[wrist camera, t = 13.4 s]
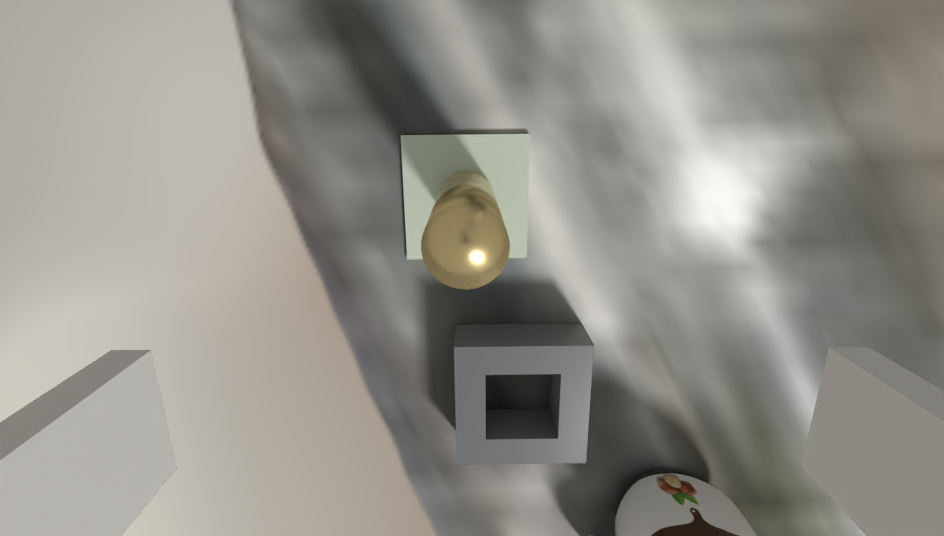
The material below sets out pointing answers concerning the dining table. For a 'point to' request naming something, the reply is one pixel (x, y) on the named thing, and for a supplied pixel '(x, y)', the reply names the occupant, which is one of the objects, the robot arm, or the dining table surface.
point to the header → (522, 429)
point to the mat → (481, 153)
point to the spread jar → (677, 508)
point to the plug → (465, 233)
